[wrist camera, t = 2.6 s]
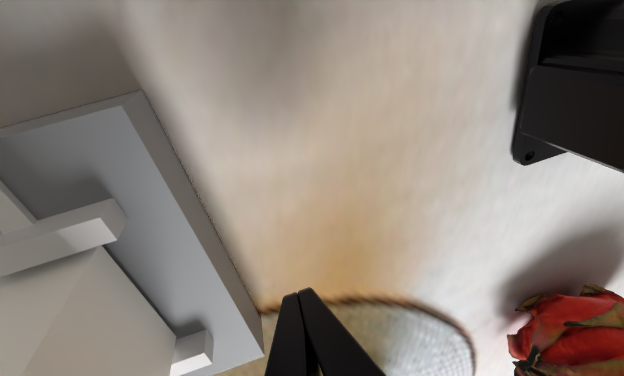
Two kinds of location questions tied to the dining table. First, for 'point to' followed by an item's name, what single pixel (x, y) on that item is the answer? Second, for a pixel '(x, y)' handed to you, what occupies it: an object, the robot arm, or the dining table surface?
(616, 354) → the dragon fruit
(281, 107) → the dining table surface
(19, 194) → the fader console
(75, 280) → the fader knob
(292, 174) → the dining table surface
